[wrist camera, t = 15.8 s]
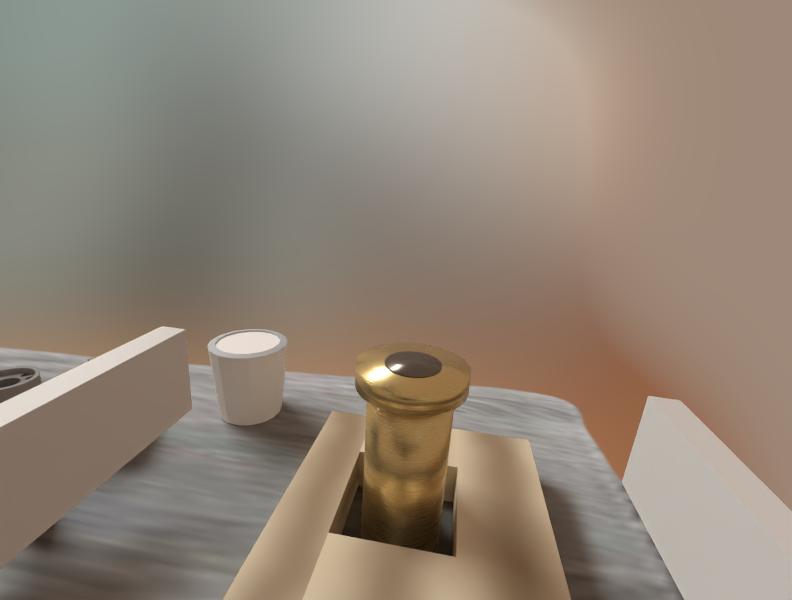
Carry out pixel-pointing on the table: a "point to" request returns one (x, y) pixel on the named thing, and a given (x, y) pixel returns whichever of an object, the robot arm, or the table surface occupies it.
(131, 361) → the robot arm
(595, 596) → the table surface
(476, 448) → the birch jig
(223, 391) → the white cup
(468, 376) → the brass sleeve
